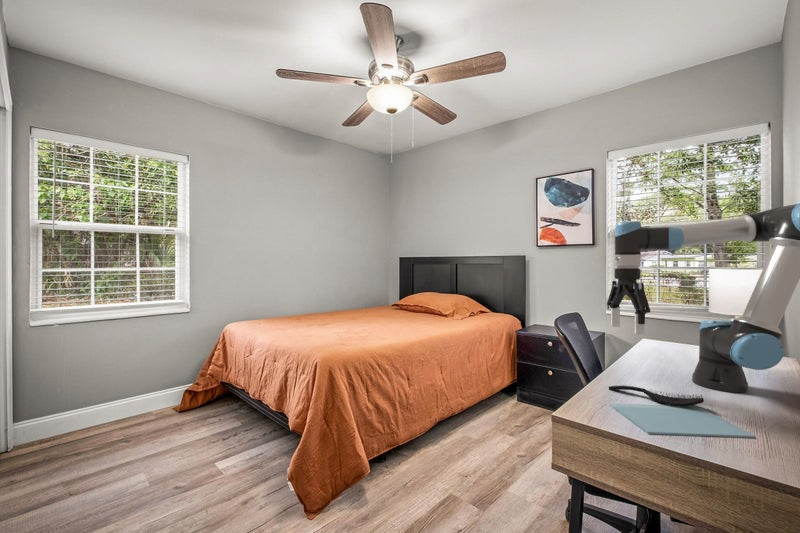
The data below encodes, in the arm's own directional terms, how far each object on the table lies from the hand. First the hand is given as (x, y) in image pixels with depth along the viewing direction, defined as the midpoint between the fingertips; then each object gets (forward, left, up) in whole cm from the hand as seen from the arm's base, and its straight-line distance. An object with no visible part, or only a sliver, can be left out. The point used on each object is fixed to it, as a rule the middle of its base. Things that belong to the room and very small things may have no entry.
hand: (626, 330), depth 127 cm
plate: (+1, +24, -20) cm, 32 cm away
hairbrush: (-3, +10, -20) cm, 22 cm away
